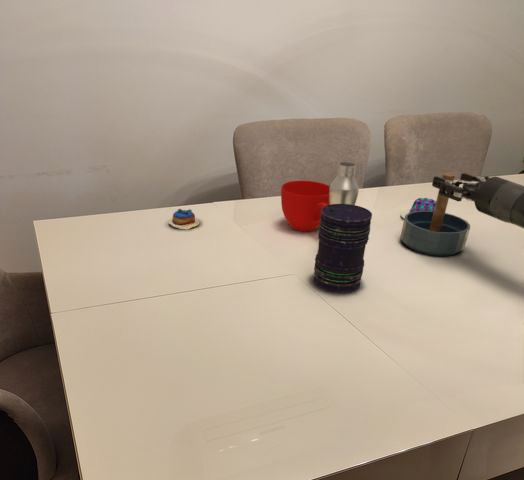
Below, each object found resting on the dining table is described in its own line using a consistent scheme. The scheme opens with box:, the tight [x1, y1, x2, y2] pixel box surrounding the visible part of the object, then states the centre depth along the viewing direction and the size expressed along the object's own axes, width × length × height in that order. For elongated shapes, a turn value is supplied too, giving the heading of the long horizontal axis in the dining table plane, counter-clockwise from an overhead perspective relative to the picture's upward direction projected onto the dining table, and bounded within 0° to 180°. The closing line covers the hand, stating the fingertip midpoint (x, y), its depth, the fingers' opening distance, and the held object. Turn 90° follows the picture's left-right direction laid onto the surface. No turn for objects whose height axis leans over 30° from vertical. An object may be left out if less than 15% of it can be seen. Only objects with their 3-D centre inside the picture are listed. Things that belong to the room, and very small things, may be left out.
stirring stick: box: [429, 172, 455, 232], centre depth 118 cm, size 4×4×16 cm
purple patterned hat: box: [400, 197, 436, 219], centre depth 137 cm, size 12×12×5 cm
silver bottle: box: [329, 161, 360, 205], centre depth 111 cm, size 6×7×20 cm
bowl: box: [399, 211, 471, 257], centre depth 122 cm, size 15×15×6 cm
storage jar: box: [313, 204, 373, 294], centre depth 100 cm, size 10×10×15 cm
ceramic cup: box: [280, 180, 330, 232], centre depth 125 cm, size 13×17×10 cm
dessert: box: [168, 208, 200, 230], centre depth 127 cm, size 8×7×6 cm
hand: (447, 179), depth 114 cm, fingers open, 8 cm apart
